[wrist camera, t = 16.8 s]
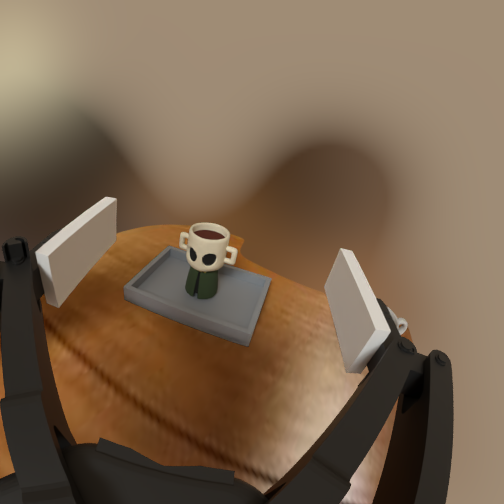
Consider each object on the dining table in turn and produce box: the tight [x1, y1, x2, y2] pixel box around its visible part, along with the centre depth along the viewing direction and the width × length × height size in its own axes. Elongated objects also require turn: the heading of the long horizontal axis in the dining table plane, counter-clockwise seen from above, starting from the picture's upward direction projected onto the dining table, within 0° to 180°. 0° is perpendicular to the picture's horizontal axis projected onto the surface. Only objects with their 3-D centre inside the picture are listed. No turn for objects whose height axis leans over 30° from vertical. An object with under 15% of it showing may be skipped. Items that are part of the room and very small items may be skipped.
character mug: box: [179, 222, 238, 299], centre depth 51 cm, size 11×7×13 cm, turn 75°
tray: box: [124, 246, 272, 347], centre depth 54 cm, size 24×18×3 cm
